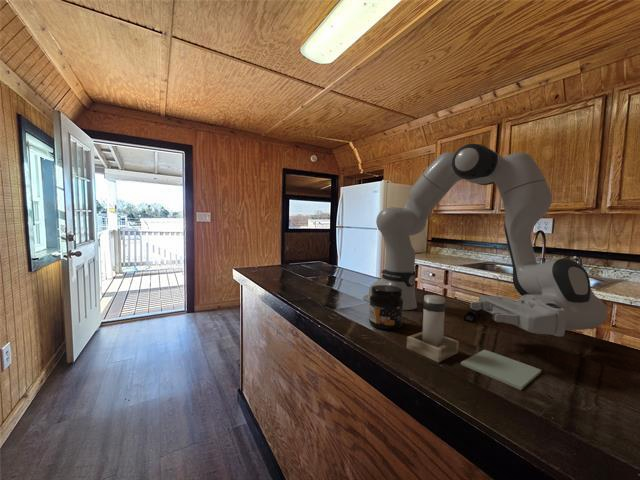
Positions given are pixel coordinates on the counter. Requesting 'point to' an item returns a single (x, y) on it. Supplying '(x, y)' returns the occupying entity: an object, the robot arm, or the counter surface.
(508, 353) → the counter surface
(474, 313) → the electric trimmer
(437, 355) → the square wooden frame
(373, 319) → the supplement container
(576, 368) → the counter surface
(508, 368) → the mat
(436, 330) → the white capsule post
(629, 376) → the counter surface
